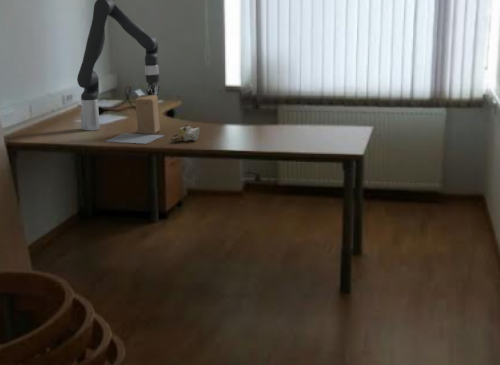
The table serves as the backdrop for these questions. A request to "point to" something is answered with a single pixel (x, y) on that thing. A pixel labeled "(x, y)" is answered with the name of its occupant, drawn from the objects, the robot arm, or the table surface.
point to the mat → (134, 138)
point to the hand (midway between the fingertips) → (154, 104)
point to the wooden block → (147, 114)
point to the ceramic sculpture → (186, 134)
